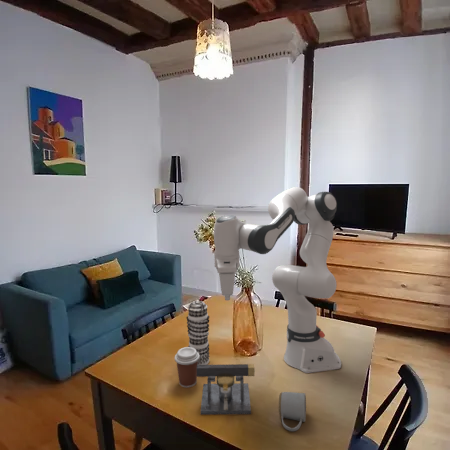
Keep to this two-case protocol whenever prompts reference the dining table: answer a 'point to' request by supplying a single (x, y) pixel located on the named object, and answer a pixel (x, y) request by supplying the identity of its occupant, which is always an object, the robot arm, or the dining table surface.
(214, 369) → the grey lintel crossbar
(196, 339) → the grey ridged column
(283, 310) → the dining table surface
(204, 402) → the post base
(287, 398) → the ceramic mug
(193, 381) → the coffee cup
